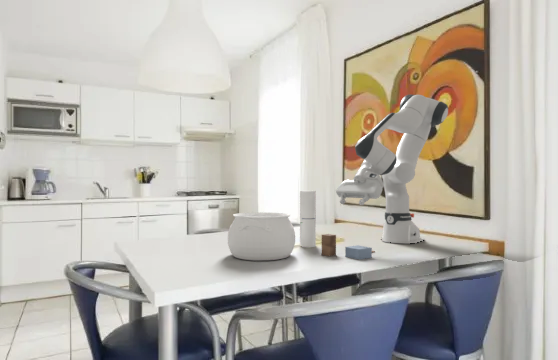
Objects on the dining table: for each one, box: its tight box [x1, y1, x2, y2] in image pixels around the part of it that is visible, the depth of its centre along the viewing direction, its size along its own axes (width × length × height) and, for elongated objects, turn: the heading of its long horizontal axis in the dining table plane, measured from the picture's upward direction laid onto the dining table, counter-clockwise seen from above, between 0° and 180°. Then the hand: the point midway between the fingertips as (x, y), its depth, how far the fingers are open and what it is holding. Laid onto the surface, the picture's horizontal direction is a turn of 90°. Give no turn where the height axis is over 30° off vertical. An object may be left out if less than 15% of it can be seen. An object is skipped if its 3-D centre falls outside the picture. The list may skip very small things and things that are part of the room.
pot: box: [227, 212, 296, 262], centre depth 147 cm, size 29×26×16 cm
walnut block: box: [321, 233, 337, 257], centre depth 149 cm, size 4×4×8 cm
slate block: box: [344, 244, 373, 260], centre depth 144 cm, size 7×7×4 cm
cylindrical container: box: [299, 190, 317, 248], centre depth 170 cm, size 7×7×25 cm
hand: (351, 203), depth 156 cm, fingers open, 8 cm apart
